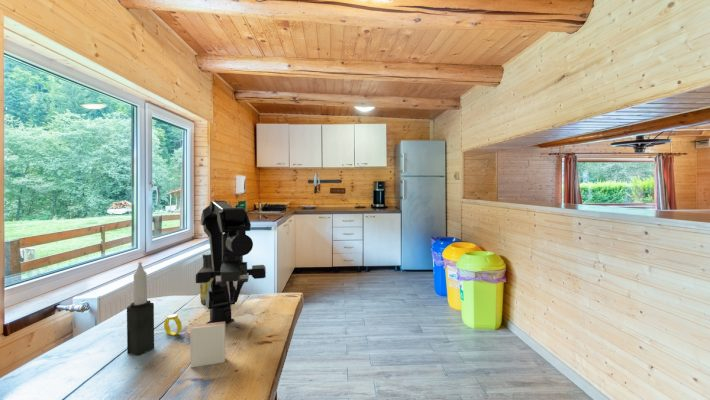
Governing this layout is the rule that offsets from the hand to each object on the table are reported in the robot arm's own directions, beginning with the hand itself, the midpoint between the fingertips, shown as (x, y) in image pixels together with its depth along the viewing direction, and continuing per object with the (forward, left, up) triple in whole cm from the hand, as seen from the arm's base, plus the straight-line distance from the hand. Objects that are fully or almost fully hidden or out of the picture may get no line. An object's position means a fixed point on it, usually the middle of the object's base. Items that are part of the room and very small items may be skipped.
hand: (232, 302), depth 88 cm
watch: (-21, -4, -12) cm, 25 cm away
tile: (+2, -10, -7) cm, 13 cm away
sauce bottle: (-34, +20, -12) cm, 41 cm away
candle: (-20, -14, -12) cm, 27 cm away
